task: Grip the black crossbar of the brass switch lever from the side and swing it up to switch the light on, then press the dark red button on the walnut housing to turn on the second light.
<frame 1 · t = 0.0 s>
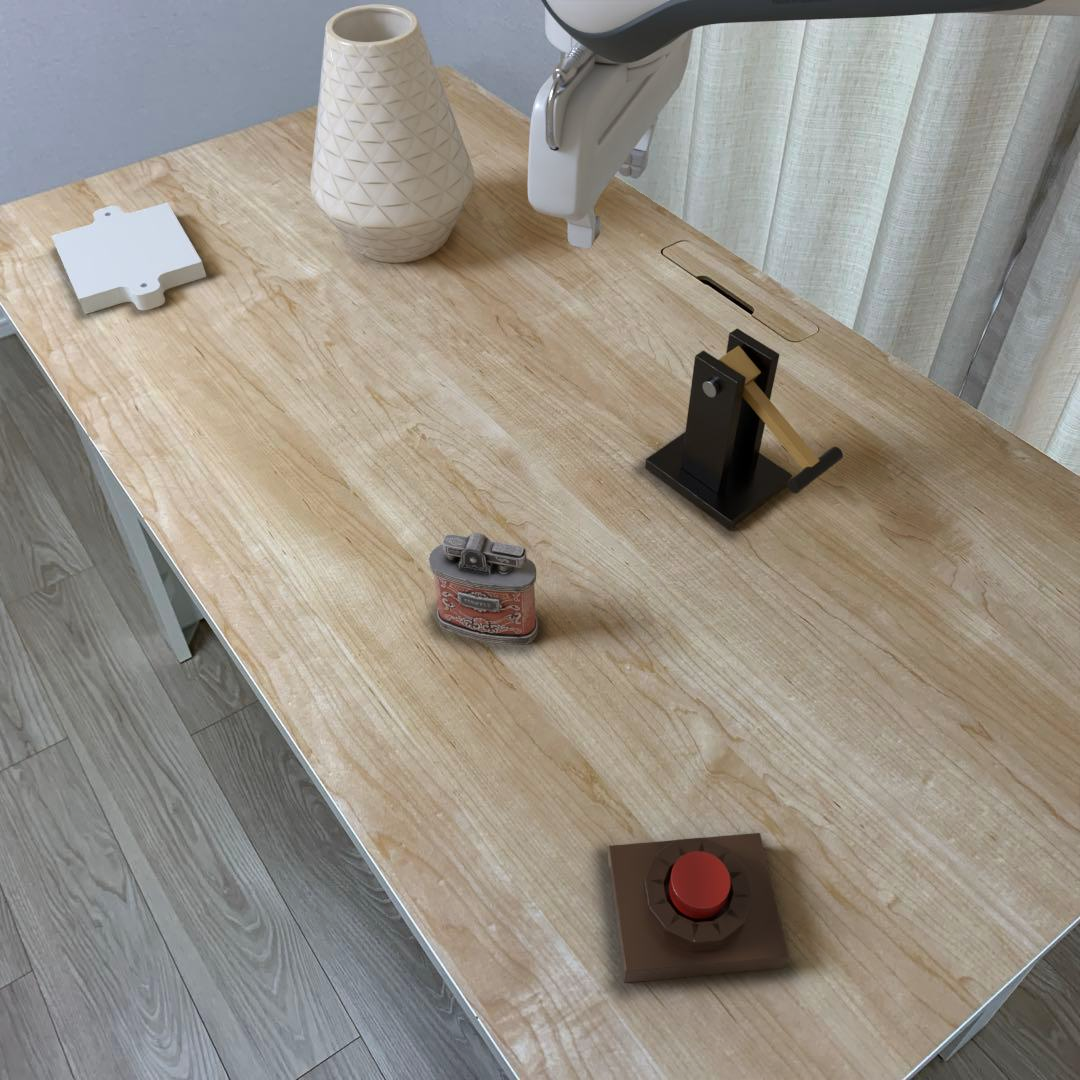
hand: (609, 205, 74), 26 cm above the table, tool pointing down, fingers open, 8 cm apart
mounting plate: (131, 265, 114), on the table
switch bracket: (717, 476, 92), on the table
vase: (400, 235, 117), on the table
switch lever: (771, 416, 83), point 10 cm above the table, hinge at -25.0°
button box: (692, 911, 68), on the table
light button: (699, 884, 64), point 4 cm above the table, slide at 0.1 cm
lighter: (487, 625, 83), on the table
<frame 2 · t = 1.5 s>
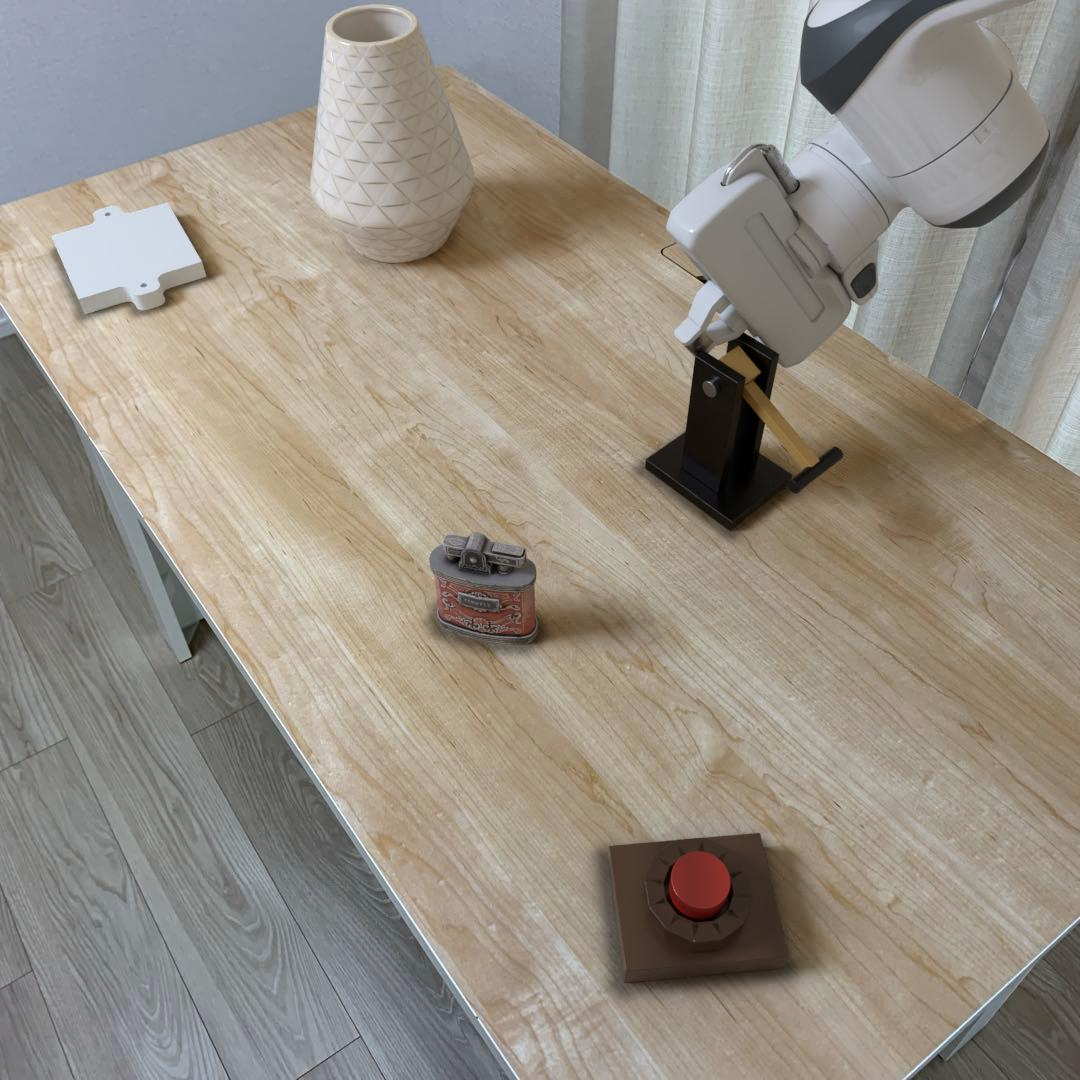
hand: (685, 347, 82), 14 cm above the table, tool tilted 55°, fingers closed, pressing on switch bracket
nothing on the table moved.
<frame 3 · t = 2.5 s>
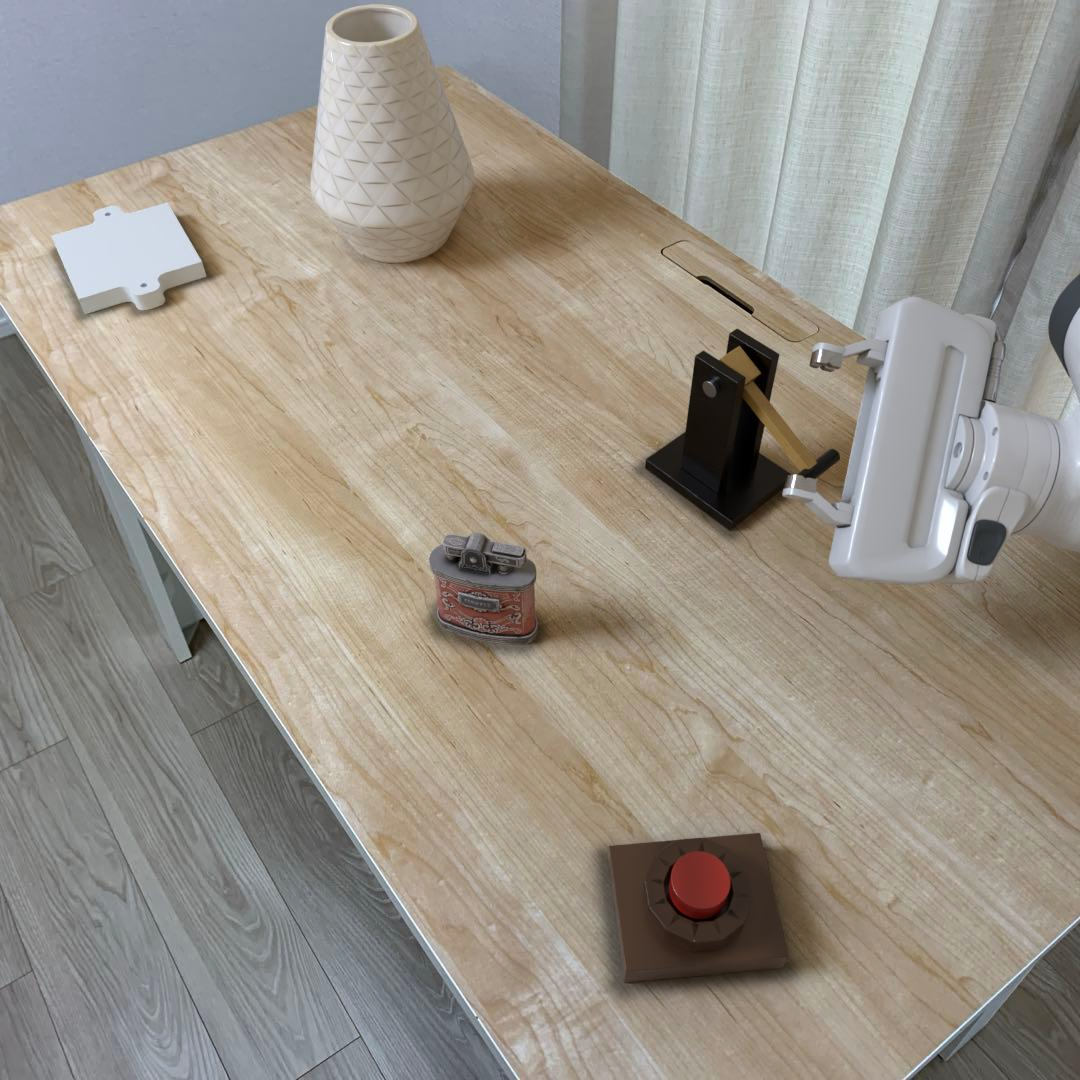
hand: (800, 419, 73), 17 cm above the table, tool horizontal, fingers open, 8 cm apart
switch lever: (770, 417, 83), point 10 cm above the table, hinge at -27.4°
everything else where it was.
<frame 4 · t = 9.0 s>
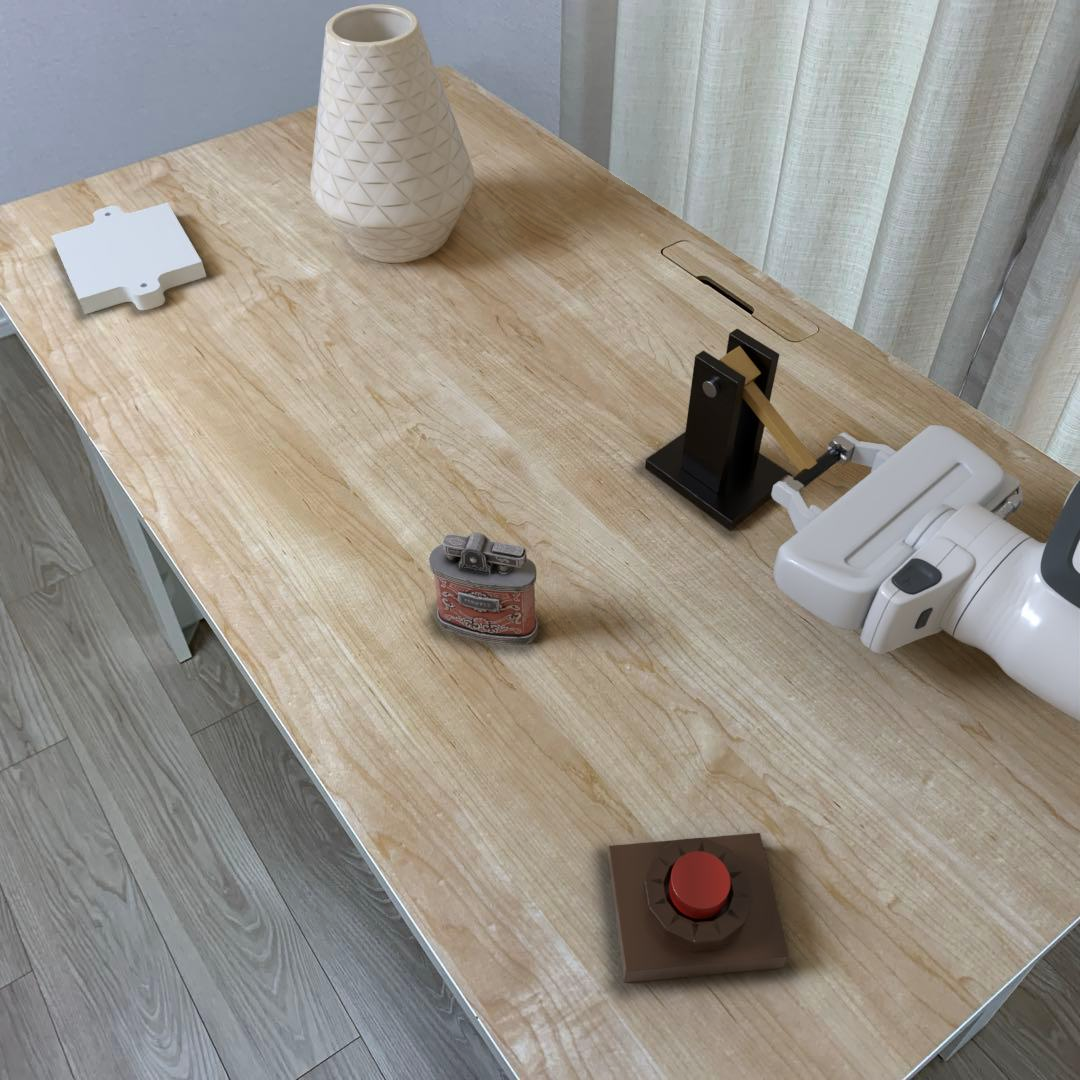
hand: (805, 463, 82), 8 cm above the table, tool horizontal, fingers closed on switch lever, 5 cm apart
switch lever: (770, 417, 83), point 10 cm above the table, hinge at -27.3°, touching gripper
everything else where it was.
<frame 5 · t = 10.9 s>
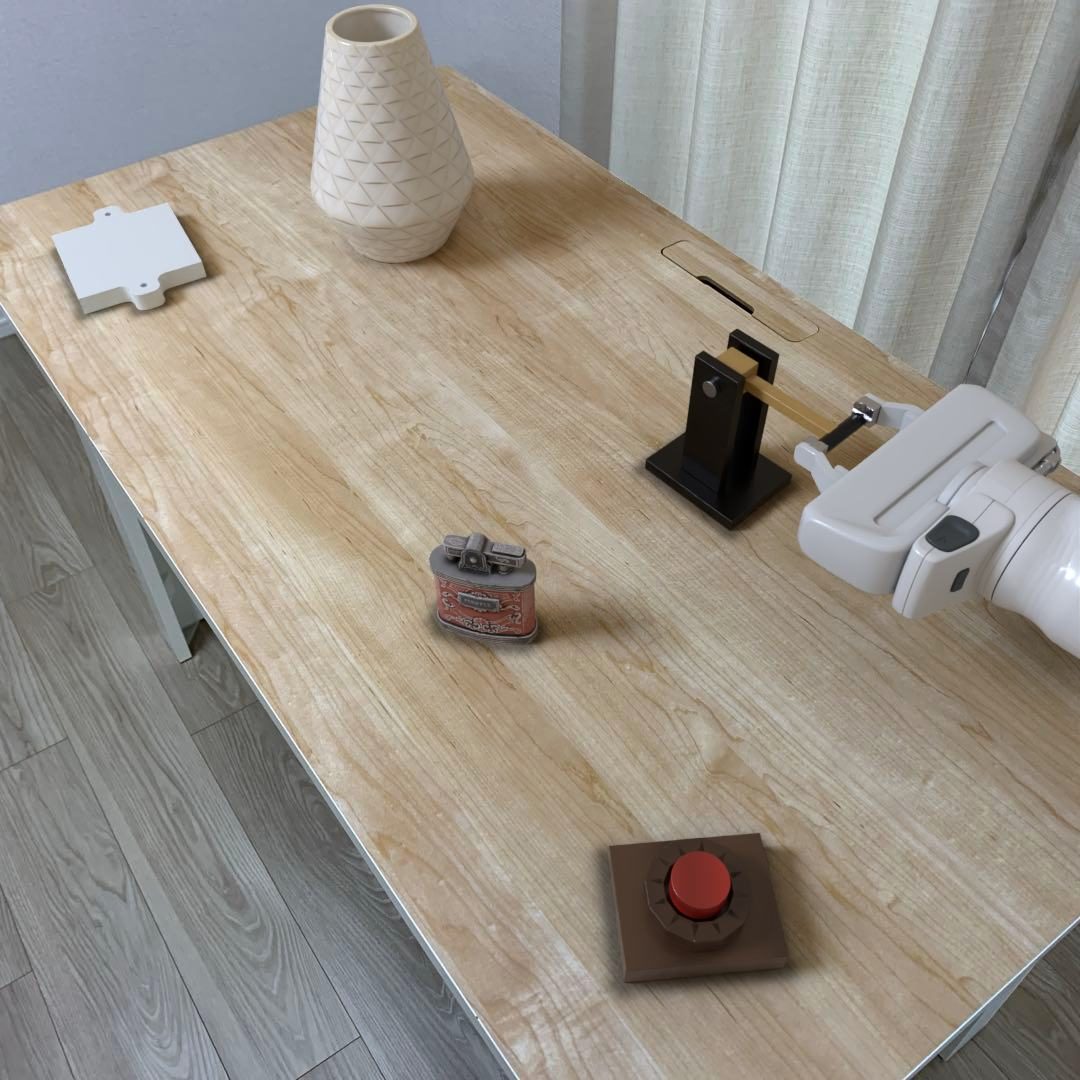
hand: (829, 425, 78), 13 cm above the table, tool horizontal, fingers closed on switch lever, 5 cm apart
switch lever: (779, 400, 81), point 12 cm above the table, hinge at 0.5°, touching gripper
everything else where it was.
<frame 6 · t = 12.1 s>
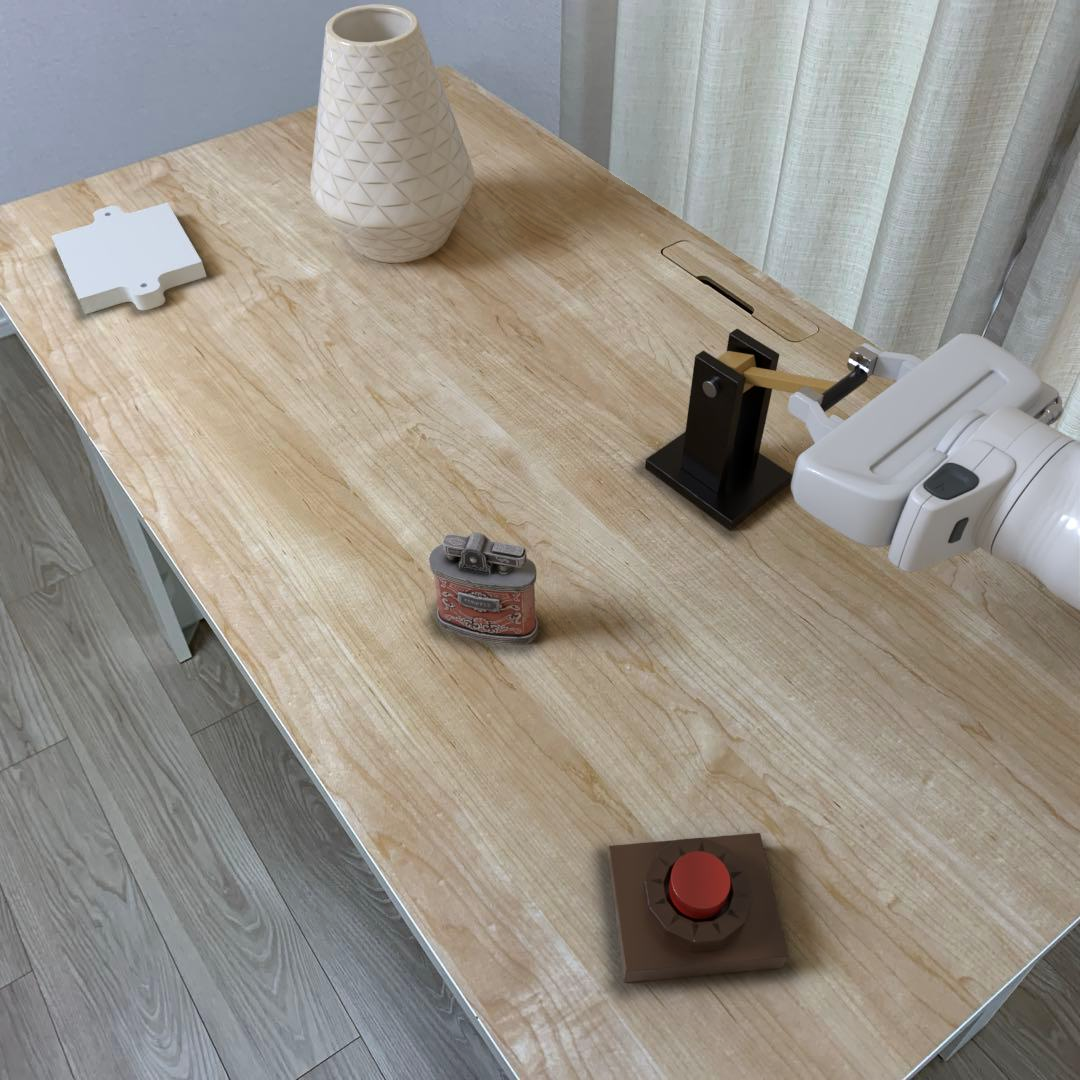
hand: (824, 375, 76), 17 cm above the table, tool horizontal, fingers closed on switch lever, 5 cm apart
switch lever: (779, 381, 80), point 14 cm above the table, hinge at 23.3°, touching gripper
everything else where it was.
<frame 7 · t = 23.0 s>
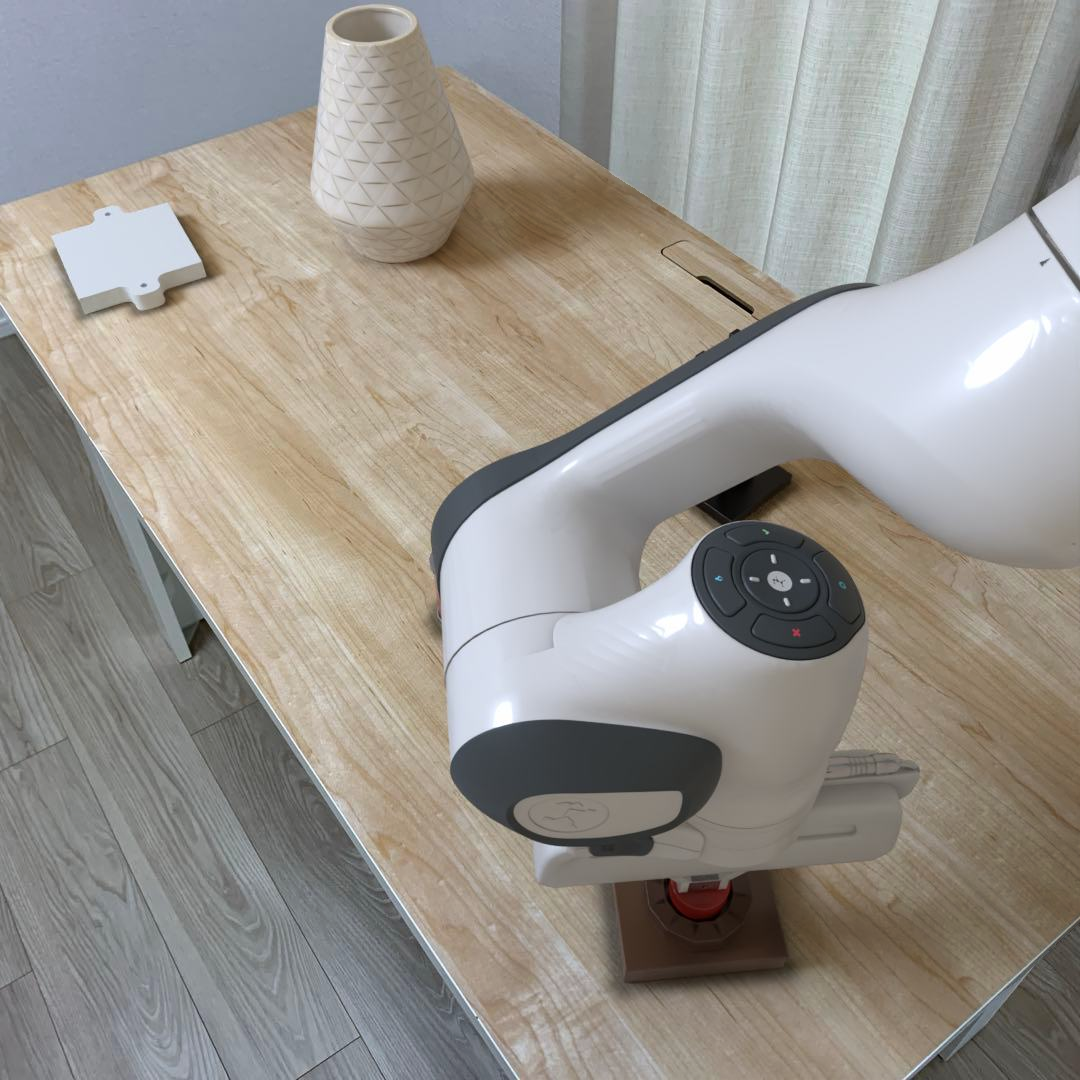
hand: (699, 878, 64), 5 cm above the table, tool pointing down, fingers closed, pressing on light button
switch lever: (780, 397, 81), point 12 cm above the table, hinge at 5.0°
light button: (699, 885, 64), point 4 cm above the table, slide at 0.0 cm, touching gripper
everything else where it was.
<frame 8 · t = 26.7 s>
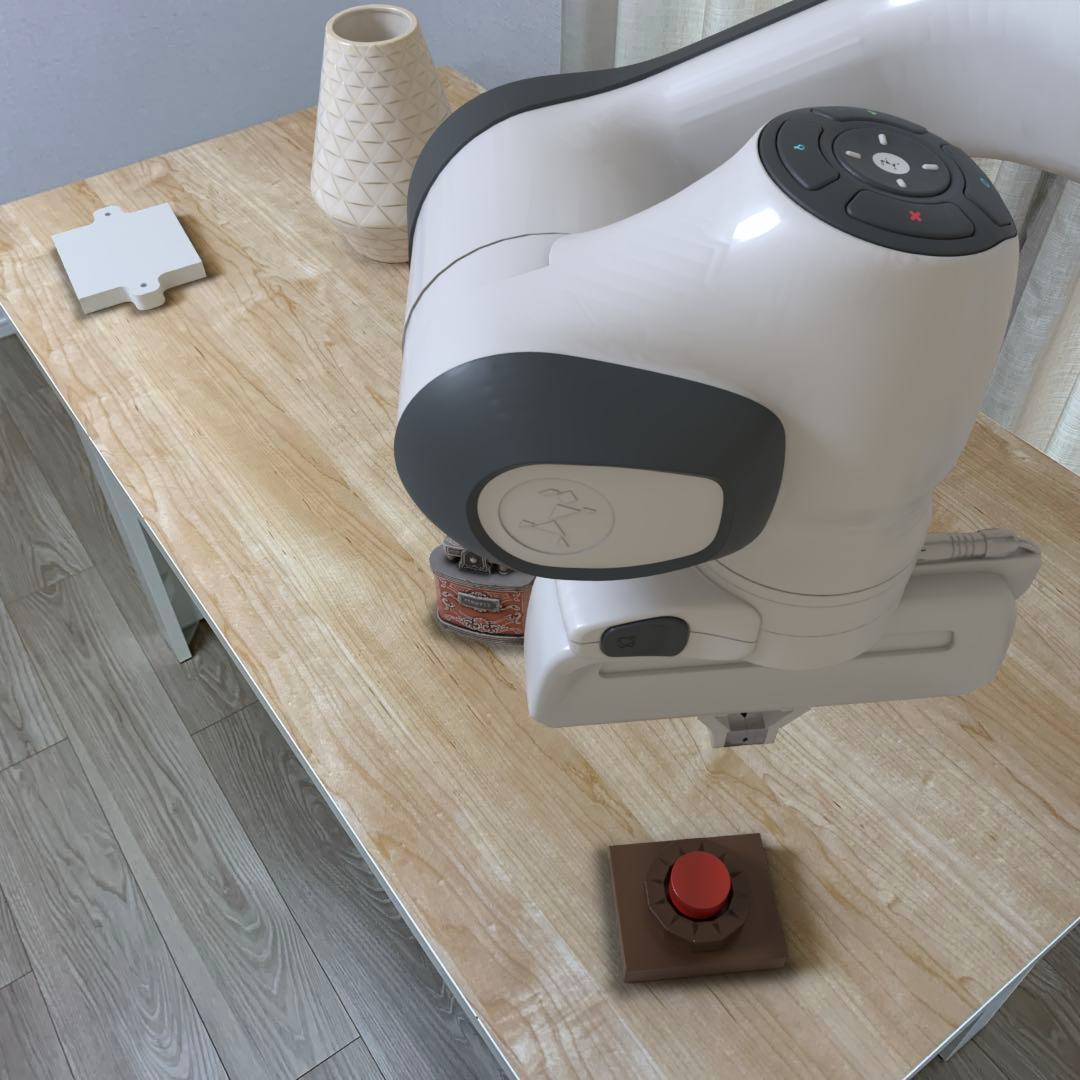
hand: (738, 732, 50), 23 cm above the table, tool pointing down, fingers closed
light button: (699, 884, 64), point 4 cm above the table, slide at 0.1 cm
everything else where it was.
at the end: switch lever reached +23° during the clip, +5° at the end; light button pushed in 1.0 cm at the most during the clip, back to where it started at the end; light button slide at 0.1 cm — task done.
